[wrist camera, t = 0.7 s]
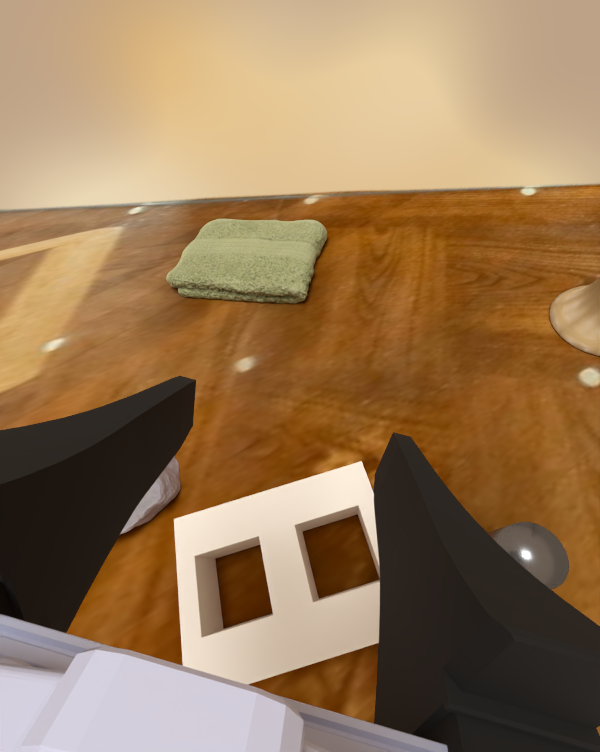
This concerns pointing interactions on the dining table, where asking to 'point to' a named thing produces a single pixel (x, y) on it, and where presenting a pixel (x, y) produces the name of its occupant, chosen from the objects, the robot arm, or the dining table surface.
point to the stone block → (156, 496)
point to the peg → (535, 551)
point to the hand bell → (579, 317)
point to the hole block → (275, 579)
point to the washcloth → (250, 261)
